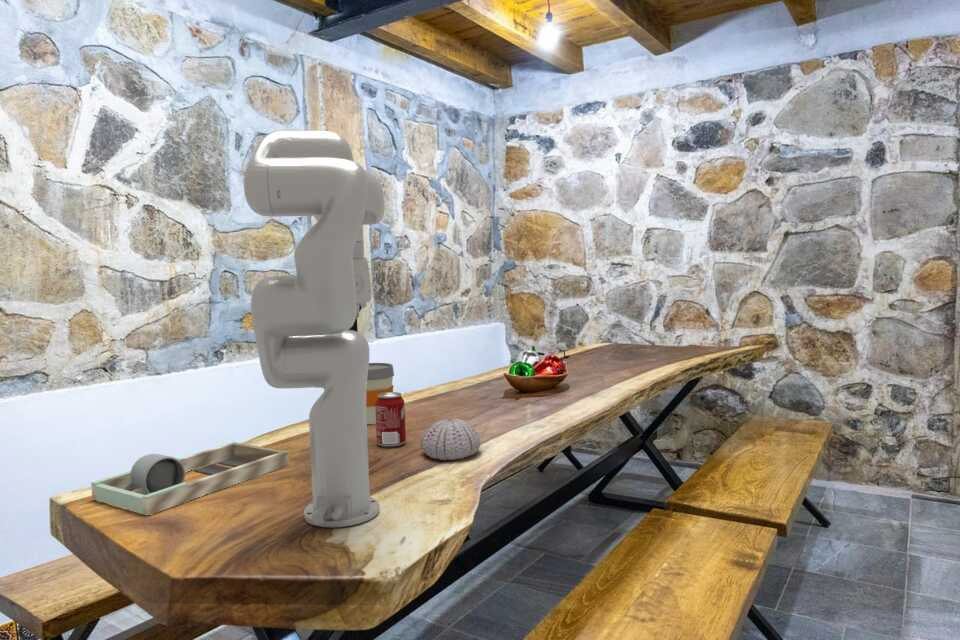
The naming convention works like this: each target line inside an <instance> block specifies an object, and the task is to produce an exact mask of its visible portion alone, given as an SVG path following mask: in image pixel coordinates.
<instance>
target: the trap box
mask: <svg viewBox="0 0 960 640" xmlns="http://www.w3.org/2000/svg"><path fill="white" fill-rule="evenodd" d="M177 459H178V460H179V461H180V462H181V463H182V464H183V466H184V469H185V472H187V473H189V472H188V471H190V472H192V471H191V470H193V469H196V468H199V467H202V468H199V469H196V470H193V472H195V471H199V472H198V473H200V472H203V473H202V474H204V473H206V474H205V475H209V474H211V475H209V476H206V477H202V478H199V479H196V480H194V481H190V482H187V483H188V486H185V487H182V488H179V489H176V490H173V491H170V492H167V493H164V494H162V495H159V496H156V497H153V498H150V499H143V512H144V514H145V515H150V514H153V513H155V512H158V511H161V510H164V509H166V508H170V507H173V506H175V507H177V506H176V505H178V506H180V505H179V504H181V503H184V502H186V503H188V502H187V501H189V502H191V501H190V500H192V501H194V500H193V499H195V498H197V499H199V498H198V497H200V498H202V497H201V496H203V497H205V496H204V495H206V494H208V495H210V493H211V494H213V493H212V492H214V493H216V492H215V491H217V492H218V490H219V491H222V490H224V488H225V489H227V487H228V488H230V487H233V486H236V485H238V483H239V484H241V483H244V482H246V481H250V480H252V479H254V478H255V479H256V478H257V477H260V476H264V475H266V474H268V473H271V472H274V471H276V470H279V469H282V468H286V467H287V466H289V464H290V462H289V451H288V450H287V451H286V450H281V449H275V448H270V447H264V446H259V445H253V444H248V443H240V442H235V441H233V442H231V443H227V444H224V445H220V446H218V447H217V446H216V447H213V448H211V449H207V450H204V451H200V452H198V453H193V454H190V455H187V456H183V457H180V458H177ZM214 463H215V464H214ZM210 464H211V465H210ZM206 465H208V466H206ZM203 466H205V467H203ZM229 466H230V467H229ZM130 482H131V475H129V476H125V477H122V478H119V479H115V480H112V481H109V482H105V483H102V484H105V485H108V486H112V487H116V488H120V489H122V488H123V487H125V486H126V485H127V484H129V483H130ZM235 484H236V485H235ZM232 485H233V486H232ZM95 486H96V485H95ZM95 486H94V485H91V498H92V499H94V500H96V492H95ZM221 489H222V490H221ZM134 490H137V489H136V488H135V489H134ZM206 496H207V495H206ZM195 500H196V499H195ZM184 504H185V503H184ZM181 505H182V504H181ZM173 508H174V507H173ZM170 509H171V508H170ZM164 511H165V510H164ZM153 515H154V514H153Z"/></svg>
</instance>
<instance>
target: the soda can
mask: <svg viewBox="0 0 960 640" xmlns="http://www.w3.org/2000/svg"><path fill="white" fill-rule="evenodd" d="M375 406H376V424H375V426H376V444H378V445H379V446H381V447H383V448H388V447H390V448H397V446H398V447H401V446H402V445H403V444H405V443H406V441H407V438H406V437H407V435H406V433H407V432H406V409H405V408H406V407H405V400H404V398H403V397H402V393H401V392H397V391H393V392H386V393H381V394H378V399H377V401H376V402H375Z"/></svg>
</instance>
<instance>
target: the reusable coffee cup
mask: <svg viewBox="0 0 960 640" xmlns="http://www.w3.org/2000/svg"><path fill="white" fill-rule="evenodd" d="M394 376H395V372H394V366H393V364H392V363H388V362H387V363H386V362H369V367H368V376H367V389H366V414H367V424H372V425H376V406H375V402H376V401H377V399H378V394H381V393H386V392H394V385H393V378H394Z"/></svg>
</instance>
